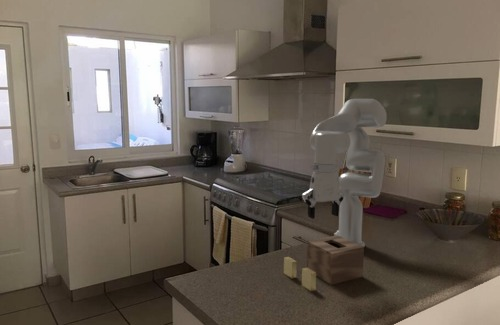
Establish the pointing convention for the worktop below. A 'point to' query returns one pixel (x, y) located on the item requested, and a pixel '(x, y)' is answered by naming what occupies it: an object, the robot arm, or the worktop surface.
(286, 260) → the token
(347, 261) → the box
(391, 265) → the worktop surface
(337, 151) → the robot arm
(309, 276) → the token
